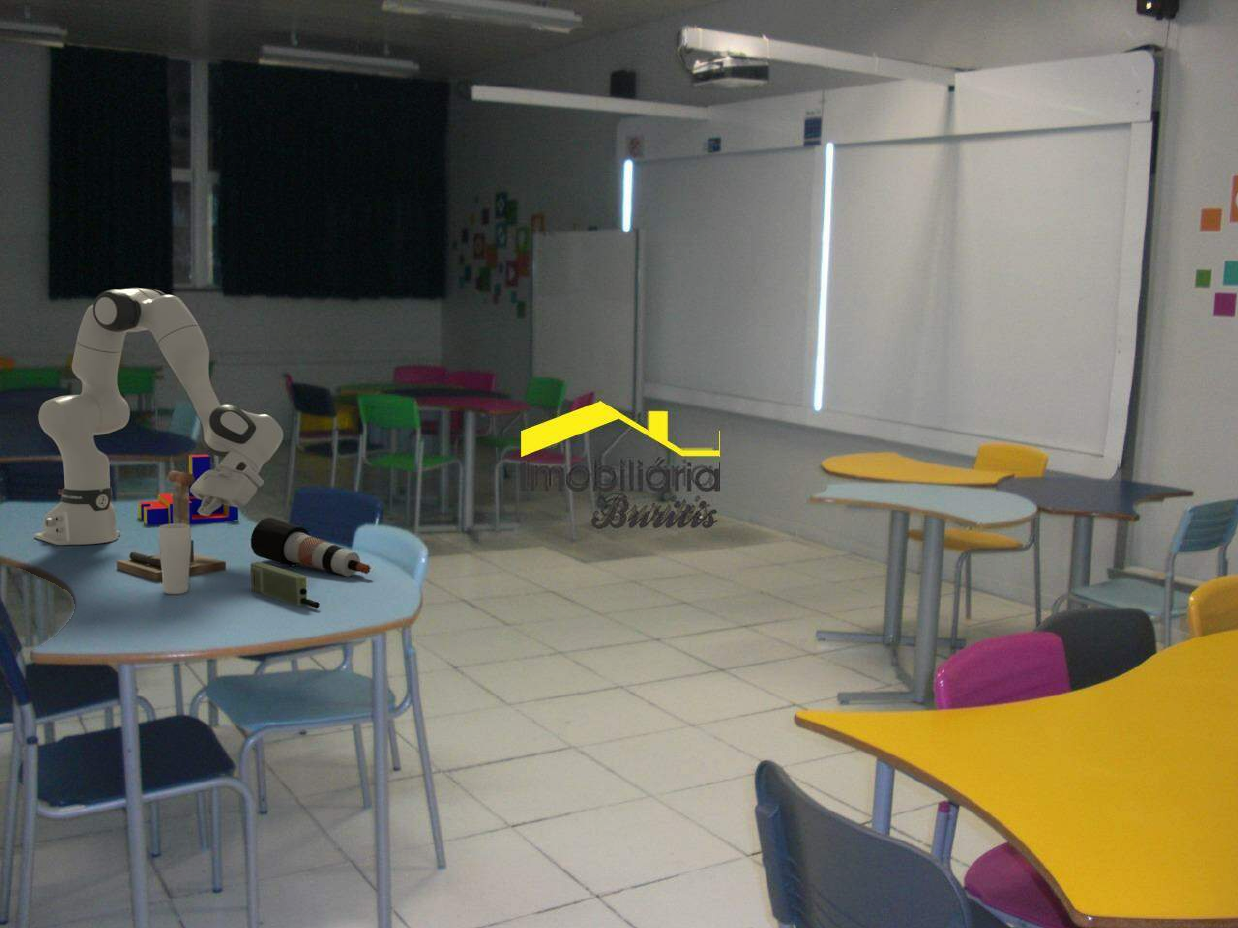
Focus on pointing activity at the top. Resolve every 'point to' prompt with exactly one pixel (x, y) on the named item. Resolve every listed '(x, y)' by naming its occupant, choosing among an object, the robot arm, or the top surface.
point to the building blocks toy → (163, 507)
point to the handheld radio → (280, 584)
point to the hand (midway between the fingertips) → (202, 514)
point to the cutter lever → (181, 495)
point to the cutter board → (157, 572)
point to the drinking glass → (175, 557)
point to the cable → (302, 548)
